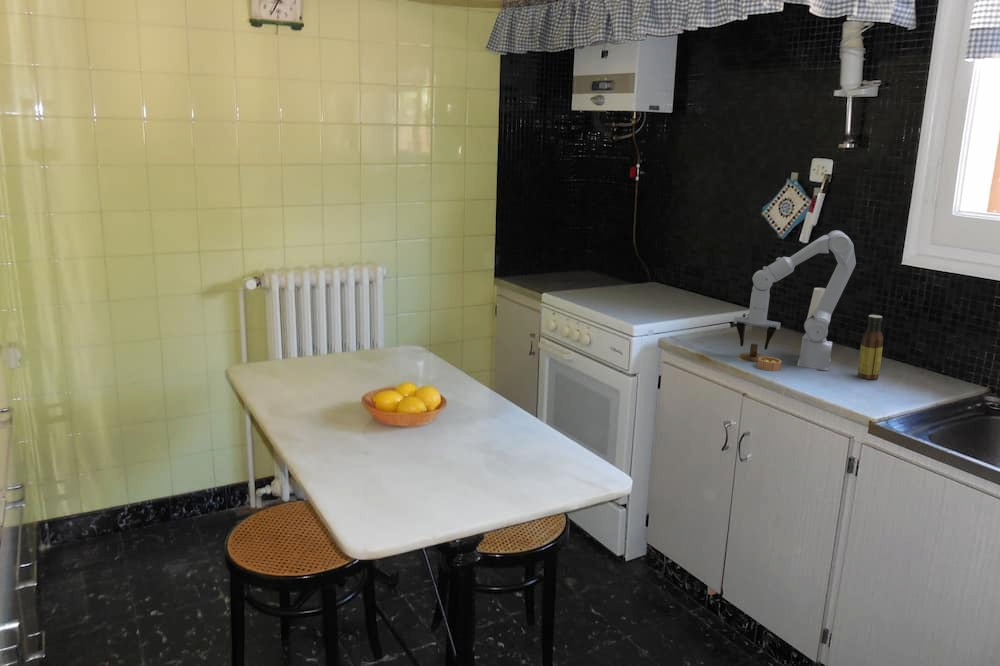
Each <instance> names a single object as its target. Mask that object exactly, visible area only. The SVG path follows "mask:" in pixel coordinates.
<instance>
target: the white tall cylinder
mask: <svg viewBox="0 0 1000 666" xmlns="http://www.w3.org/2000/svg"><path fill="white" fill-rule="evenodd" d="M825 289H826V288H825V287H814V288H813V292H812V296H811V300H810V304H809V308H808V313H807V318H806V320H807V319H808V318H809V317H810V316H811V315H812V313H813V311H814V310H815V309H816V308H817V306H818V304H819V302H820V300H821V298H822V296H823V294H824V292H825Z"/></svg>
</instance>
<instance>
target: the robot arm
mask: <svg viewBox="0 0 1000 666" xmlns="http://www.w3.org/2000/svg"><path fill="white" fill-rule="evenodd" d="M829 250H830V251H831V253H833V255H834V257H835V260H836V262H837V264H836V266H835V269H834V271H833V273H832V274H831V277H830V279H829V281H828V284H827V285H826V288H825V292H824V294H823V296H822V298H821V300H820V302H819V304H818V306H817V308H816V309H815V310H814V311H813V313H812V315H811V316H810V317H809V318H808V319H807V318H806V320H805V321H804V323H803V328H804V331H805V333H804V334H803V335H802V338H801V339H802V340H801V346H800V353H799V358H798V361H797V362H796V363H797V364H796V366H798V367H803V368H804V367H805V368H810V369H816V370H820V371H829V367H830V365H831V361H832V358H831V355H832V347H833V341H830V340H829V341H828V340H827V337H828V333H829V326H830V323H831V318H832V314H833V312H834V311H835V308H836V306H837V303H838V302H839V300H840V298H841V296H842V294H843V291H844V289H845V288H846V286H847V284H848V281H849V279H850V277H851V275H852V274H853V271H854V269H855V267H856V264H857V260H856V255H855V254H856V253H855V248H854V243H853V241H852V240H851V239H850V237H849V236H848V235H847V234H845V233H844V232H843V231H842V230H832V231H830V232H829V233H827V234H824V235H822V236H820V237H818V238H817V239H815V240H814V241H811V242H810V243H809V244H808V245H806V246H805V247H803V248H801V249H800V250H798V252H796V253H794V254H792V255H791V256H790V257H788V256H782V257H780V256H778V257H777V258H776V259H775V261H774V262H773V263H770V264H769V265H768V266H767V265H766V266H765V265H764V266H763V267H762V269H759V270H757V271H756V272H754V274H753V276H752V278H751V279H752V283H753V286H752V288H751V294H750V295H751V296H750V303H749V308H748V309H749V311H748V317H744V316H734V318H733V324H736V326H735V327H736V329H737V333H738V337H739V341H740V344H739V345H740V346H741V347H743V346H744V341H745V332H746V326H755V327H762V328H767V329H766V339H765V344H764V350H768V346H769V343H770V341H771V340H772V337H773V336H774V334H775V332H776V330H780V329H781V322H780V321H772V320H768V311H769V304H770V303H769V302H770V296H771V294H770V289H771V287H773V283H777V282H778V281H780V280H782V279H784V278H786V277H787V276H788V275H790V274H792V273H793V272H794V270H795V267H796V266H798V265H799V264H801V263H803V262H805V261H807V260H808V259H810V258H811V257H812V258H813V257H814V256H815V255H817V254H829V253H830V251H829Z"/></svg>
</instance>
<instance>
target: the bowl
mask: <svg viewBox="0 0 1000 666" xmlns="http://www.w3.org/2000/svg"><path fill="white" fill-rule="evenodd" d="M782 362H783V361H782V360H781V359H779V358H777V357H773V356H772V357H771V356H766V357H759V358H758V362H756V363H757V365H756V368H758V369H760V370H763V371H770V372H777V371H781V369H782Z"/></svg>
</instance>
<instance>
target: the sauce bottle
mask: <svg viewBox="0 0 1000 666" xmlns="http://www.w3.org/2000/svg"><path fill="white" fill-rule="evenodd" d="M867 317H868V318H867V326H866V330H865V332H864V334H863V335H862V338H861V341H860V342H861V343H860V350H859V351H860V352H859V357H858V364H857V365H858V366H857V371H858V372H857V376H858V377H860V378H862V379H864V380H871V381H872V380H877V379H879V376H880V375H879V374H880V372H881V362H882V357H883V356H882V354H883V348H884V347H883V343H884V336H883V333H882V331H881V330H882V329H881V327H882V322H883V316H882V315H878V314H869V315H868V316H867Z"/></svg>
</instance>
